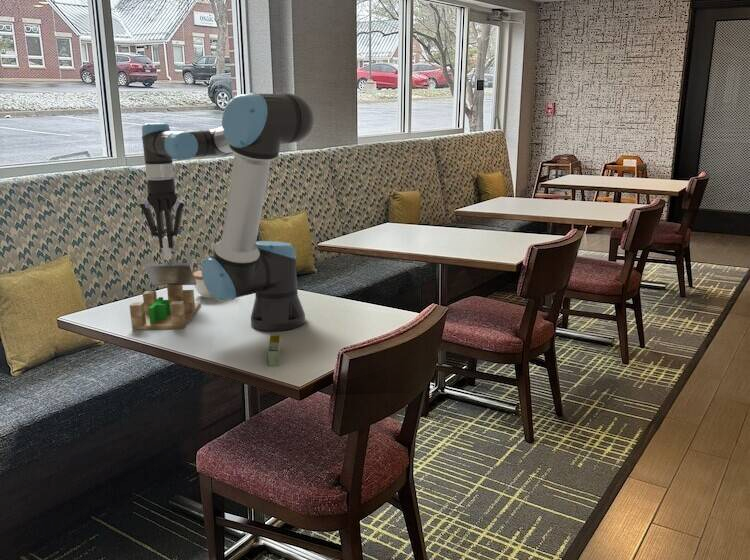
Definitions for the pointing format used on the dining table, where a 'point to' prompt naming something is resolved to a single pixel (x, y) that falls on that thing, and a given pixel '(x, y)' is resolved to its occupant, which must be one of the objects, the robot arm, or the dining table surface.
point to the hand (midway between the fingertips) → (168, 258)
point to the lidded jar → (201, 285)
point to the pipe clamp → (159, 310)
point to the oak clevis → (179, 307)
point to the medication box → (274, 350)
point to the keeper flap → (170, 274)
